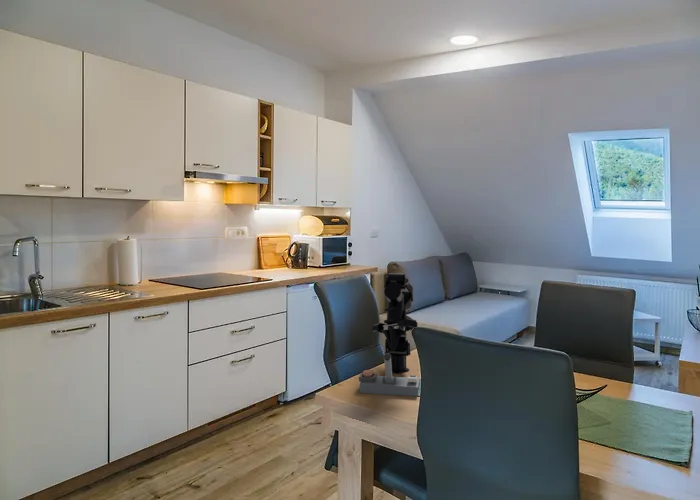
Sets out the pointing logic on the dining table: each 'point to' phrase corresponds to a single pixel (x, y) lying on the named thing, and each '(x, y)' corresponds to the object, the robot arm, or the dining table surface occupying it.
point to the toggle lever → (388, 367)
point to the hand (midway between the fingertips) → (393, 350)
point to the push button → (367, 373)
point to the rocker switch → (412, 378)
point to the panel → (388, 385)
